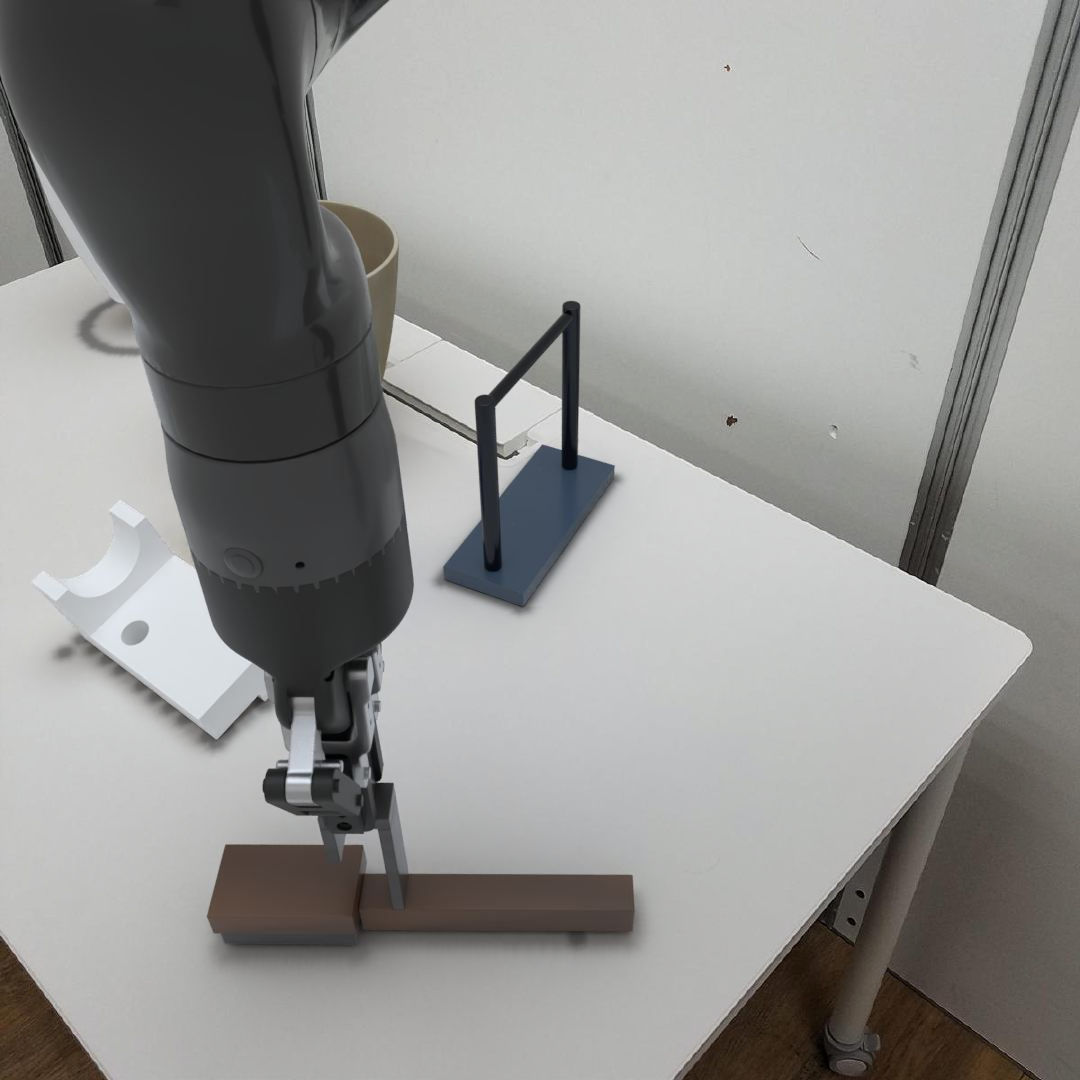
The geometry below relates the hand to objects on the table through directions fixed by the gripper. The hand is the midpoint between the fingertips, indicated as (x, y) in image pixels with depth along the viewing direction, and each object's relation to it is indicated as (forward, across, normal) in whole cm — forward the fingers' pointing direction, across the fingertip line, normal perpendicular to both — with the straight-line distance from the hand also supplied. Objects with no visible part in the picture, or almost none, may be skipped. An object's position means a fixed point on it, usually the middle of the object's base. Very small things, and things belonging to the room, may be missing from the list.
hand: (355, 798), depth 50 cm
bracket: (+10, +17, +14) cm, 25 cm away
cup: (+10, +58, +28) cm, 65 cm away
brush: (+10, 0, -3) cm, 10 cm away
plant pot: (+10, +41, +10) cm, 44 cm away
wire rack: (+10, +30, -7) cm, 33 cm away
